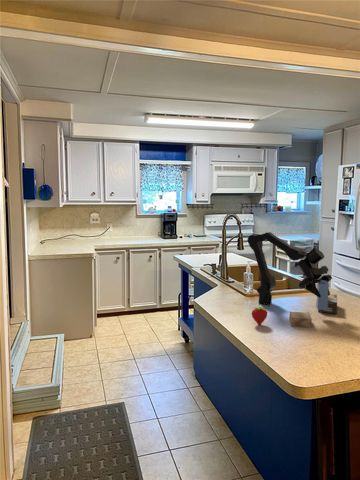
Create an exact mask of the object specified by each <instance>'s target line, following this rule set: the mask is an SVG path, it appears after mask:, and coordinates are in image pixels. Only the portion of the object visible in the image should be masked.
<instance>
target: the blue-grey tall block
mask: <svg viewBox="0 0 360 480" xmlns="http://www.w3.org/2000/svg"><path fill="white" fill-rule="evenodd" d="M316 284H317V285H316V288H317V290H318V291H319V293H320V295H321V297H320V298H319V297H318V296H316V299H315V300H316V305H315V307H316V309H317V311H318V310H327V307H328V291H329V292H330V288H329V287H330V284H329V282H326V281H325V280H320V282H319V281H318V283H316Z"/></svg>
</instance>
